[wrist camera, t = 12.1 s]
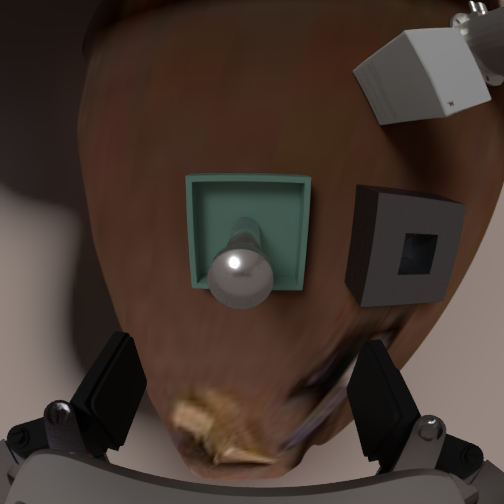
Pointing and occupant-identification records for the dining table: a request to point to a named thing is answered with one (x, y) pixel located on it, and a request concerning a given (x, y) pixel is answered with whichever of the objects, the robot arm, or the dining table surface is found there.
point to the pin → (241, 268)
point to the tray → (256, 207)
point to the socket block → (402, 246)
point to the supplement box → (422, 77)
